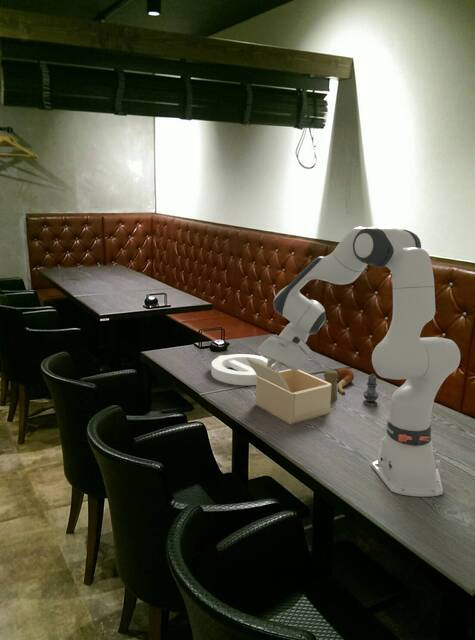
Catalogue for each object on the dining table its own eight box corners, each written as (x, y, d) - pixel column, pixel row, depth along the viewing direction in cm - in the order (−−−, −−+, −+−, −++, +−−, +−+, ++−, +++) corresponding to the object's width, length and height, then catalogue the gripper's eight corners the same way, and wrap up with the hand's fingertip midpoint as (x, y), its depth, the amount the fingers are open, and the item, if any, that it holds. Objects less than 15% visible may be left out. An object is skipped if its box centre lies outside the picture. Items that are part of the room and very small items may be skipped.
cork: (319, 399, 214) (320, 371, 211) (324, 394, 219) (326, 367, 217) (334, 402, 211) (336, 374, 209) (339, 397, 216) (341, 370, 214)
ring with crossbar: (273, 388, 225) (274, 377, 224) (205, 383, 229) (205, 372, 228) (279, 366, 252) (280, 356, 251) (218, 362, 256) (218, 352, 255)
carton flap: (258, 374, 203) (247, 357, 199) (290, 390, 189) (279, 372, 184) (257, 375, 203) (246, 358, 199) (289, 391, 189) (277, 373, 184)
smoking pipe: (352, 380, 237) (353, 366, 236) (356, 395, 219) (357, 381, 218) (335, 378, 238) (336, 365, 236) (337, 394, 220) (338, 380, 218)
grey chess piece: (378, 406, 209) (381, 375, 206) (362, 404, 210) (364, 374, 207) (377, 400, 214) (380, 370, 211) (362, 399, 215) (364, 369, 212)
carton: (293, 394, 218) (295, 367, 215) (331, 413, 201) (333, 384, 198) (254, 404, 207) (255, 376, 205) (291, 425, 190) (293, 394, 188)
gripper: (268, 328, 203) (245, 358, 200) (305, 342, 187) (280, 375, 184) (277, 338, 207) (255, 368, 204) (314, 353, 190) (291, 385, 187)
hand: (267, 371), depth 193 cm, fingers closed, pressing on carton flap
